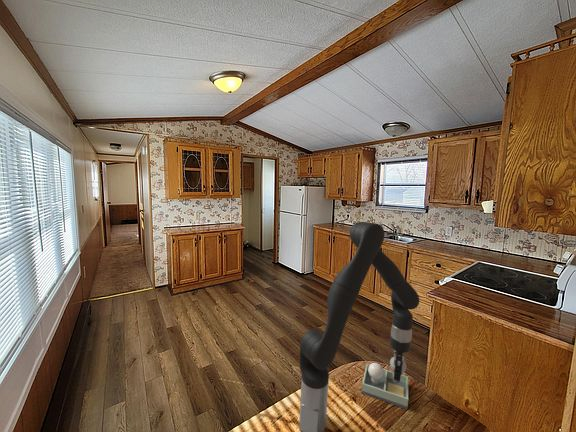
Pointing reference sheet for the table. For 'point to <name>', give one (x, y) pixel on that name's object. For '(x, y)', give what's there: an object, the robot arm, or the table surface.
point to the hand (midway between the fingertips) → (397, 374)
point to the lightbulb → (394, 368)
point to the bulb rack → (385, 386)
